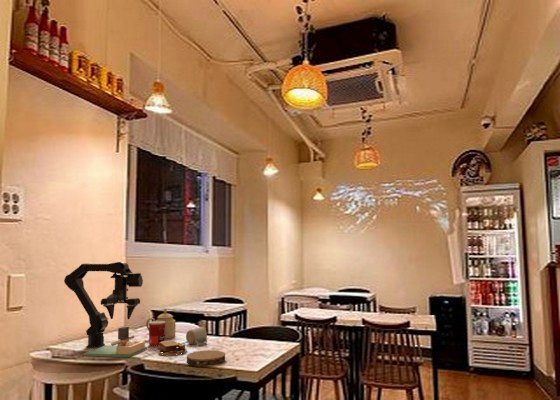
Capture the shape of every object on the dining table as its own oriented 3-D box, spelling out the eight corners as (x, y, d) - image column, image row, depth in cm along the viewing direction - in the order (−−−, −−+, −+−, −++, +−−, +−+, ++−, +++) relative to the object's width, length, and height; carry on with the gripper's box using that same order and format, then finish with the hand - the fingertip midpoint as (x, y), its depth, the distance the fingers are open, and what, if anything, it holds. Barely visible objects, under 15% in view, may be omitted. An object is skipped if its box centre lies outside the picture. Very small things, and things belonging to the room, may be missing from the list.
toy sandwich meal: (163, 358, 195) (163, 347, 196) (154, 352, 207) (154, 341, 207) (190, 354, 202) (190, 343, 202) (180, 348, 213) (180, 338, 214)
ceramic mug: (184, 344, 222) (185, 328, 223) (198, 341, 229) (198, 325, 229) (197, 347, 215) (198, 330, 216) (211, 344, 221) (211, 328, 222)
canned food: (161, 346, 217) (161, 323, 219) (145, 346, 219) (146, 323, 220) (168, 343, 225) (168, 320, 226) (153, 342, 227) (153, 320, 228)
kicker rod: (109, 353, 198) (109, 330, 199) (130, 345, 215) (130, 324, 216) (115, 353, 198) (115, 331, 199) (136, 345, 214) (136, 324, 215)
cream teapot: (160, 341, 231) (160, 311, 232) (144, 339, 236) (145, 310, 238) (179, 335, 244) (179, 307, 246) (164, 334, 249) (164, 306, 251)
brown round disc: (233, 361, 188) (233, 353, 189) (203, 369, 176) (203, 361, 177) (208, 355, 199) (208, 348, 199) (179, 362, 187) (179, 355, 187)
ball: (130, 340, 204) (132, 350, 203) (136, 338, 208) (137, 348, 207) (122, 342, 204) (124, 352, 204) (127, 340, 209) (129, 350, 208)
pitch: (84, 355, 202) (84, 346, 202) (105, 347, 217) (105, 339, 218) (128, 357, 197) (128, 347, 197) (146, 349, 212) (146, 340, 213)
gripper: (94, 288, 217) (93, 321, 216) (128, 288, 213) (128, 322, 211) (107, 286, 228) (107, 317, 226) (140, 286, 224) (140, 318, 222)
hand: (120, 319), depth 221 cm, fingers open, 9 cm apart
